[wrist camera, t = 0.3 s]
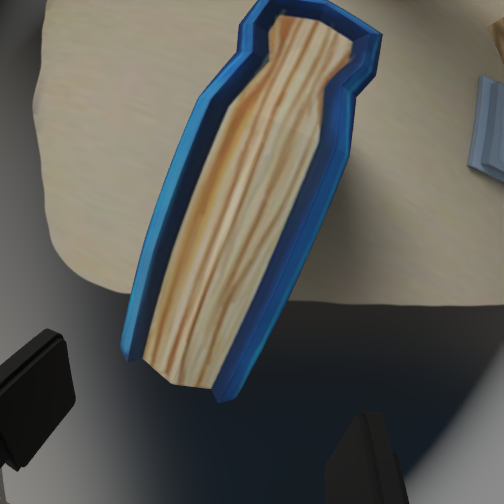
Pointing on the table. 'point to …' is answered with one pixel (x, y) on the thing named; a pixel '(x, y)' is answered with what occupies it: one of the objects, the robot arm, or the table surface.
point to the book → (248, 193)
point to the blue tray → (488, 130)
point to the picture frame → (498, 36)
